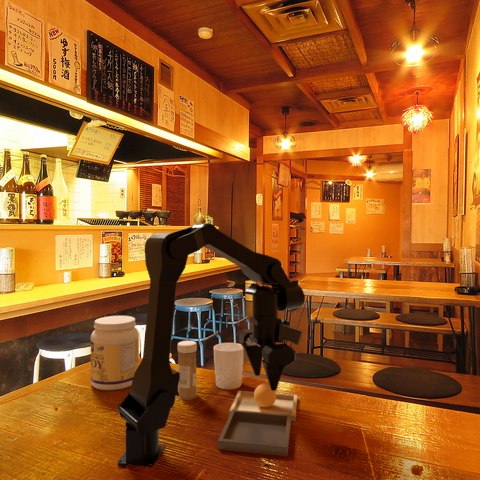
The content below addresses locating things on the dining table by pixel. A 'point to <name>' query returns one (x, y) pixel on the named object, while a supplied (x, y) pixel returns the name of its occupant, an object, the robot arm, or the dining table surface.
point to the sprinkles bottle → (187, 370)
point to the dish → (256, 433)
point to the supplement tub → (114, 352)
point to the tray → (280, 406)
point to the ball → (264, 395)
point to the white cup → (228, 365)
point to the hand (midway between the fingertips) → (265, 382)
